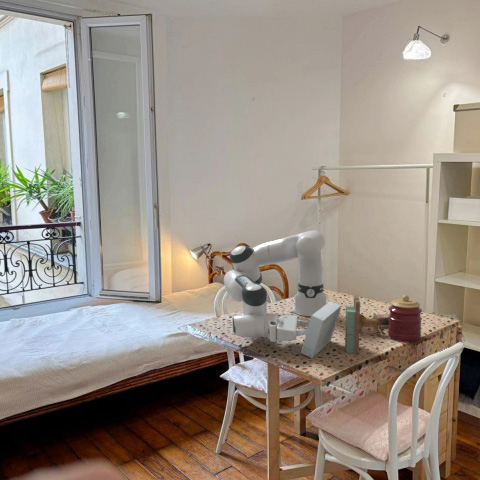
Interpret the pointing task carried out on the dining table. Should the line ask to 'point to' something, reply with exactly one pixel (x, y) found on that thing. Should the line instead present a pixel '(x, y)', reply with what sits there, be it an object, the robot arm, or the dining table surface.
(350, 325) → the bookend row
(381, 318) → the packaged product
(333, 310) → the skincare box
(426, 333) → the dining table surface
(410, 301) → the canister
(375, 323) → the lion figurine
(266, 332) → the robot arm
